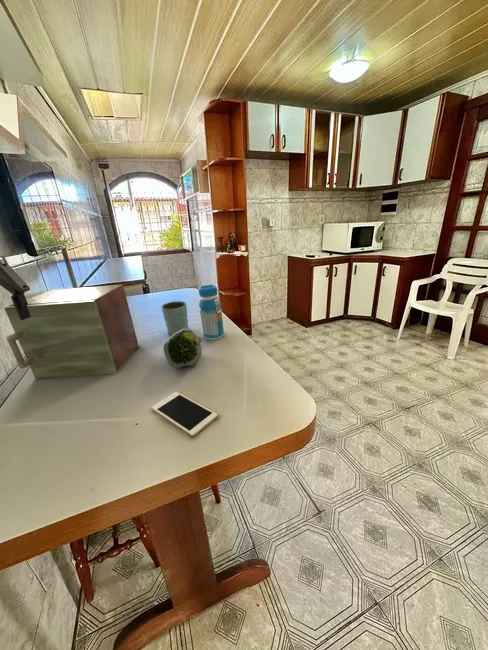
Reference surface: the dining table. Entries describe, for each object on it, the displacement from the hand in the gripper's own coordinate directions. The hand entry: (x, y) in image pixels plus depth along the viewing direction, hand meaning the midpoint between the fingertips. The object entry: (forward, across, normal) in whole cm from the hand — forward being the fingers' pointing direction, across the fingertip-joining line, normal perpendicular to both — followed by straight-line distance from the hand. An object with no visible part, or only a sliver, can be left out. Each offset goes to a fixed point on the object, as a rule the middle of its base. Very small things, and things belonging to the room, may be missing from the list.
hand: (2, 320), depth 73 cm
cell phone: (+22, -50, +15) cm, 57 cm away
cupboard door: (+22, -10, -3) cm, 24 cm away
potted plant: (+23, -46, -9) cm, 52 cm away
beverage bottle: (+23, -52, -30) cm, 64 cm away
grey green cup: (+22, -36, -37) cm, 56 cm away
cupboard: (+22, -10, -16) cm, 29 cm away
